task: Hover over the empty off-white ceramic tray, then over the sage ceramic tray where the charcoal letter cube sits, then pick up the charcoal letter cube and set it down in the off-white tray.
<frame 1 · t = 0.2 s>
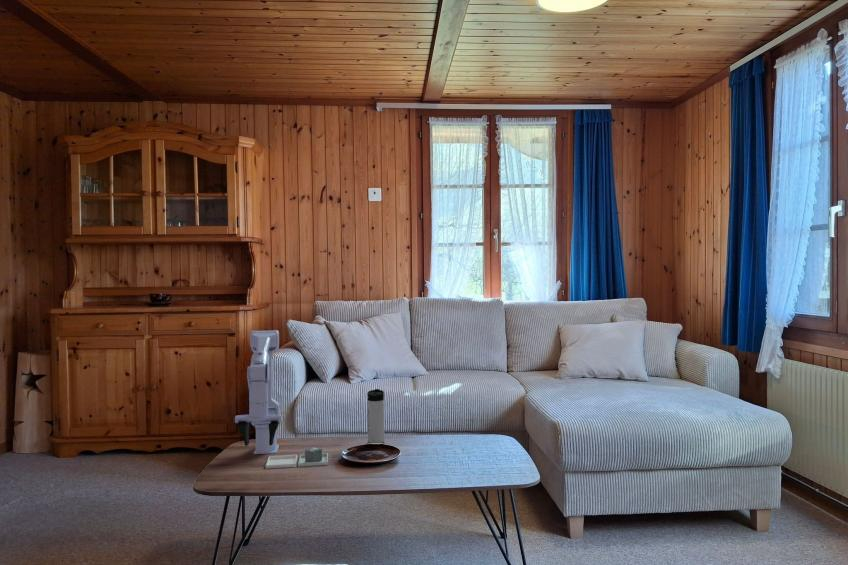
hand: (259, 444, 177), 10 cm above the table, tool pointing down, fingers open, 7 cm apart
tray 1: (282, 463, 189), on the table
travel mug: (376, 443, 211), on the table
letter cube: (313, 460, 191), resting on tray 2
tray 2: (313, 461, 191), on the table
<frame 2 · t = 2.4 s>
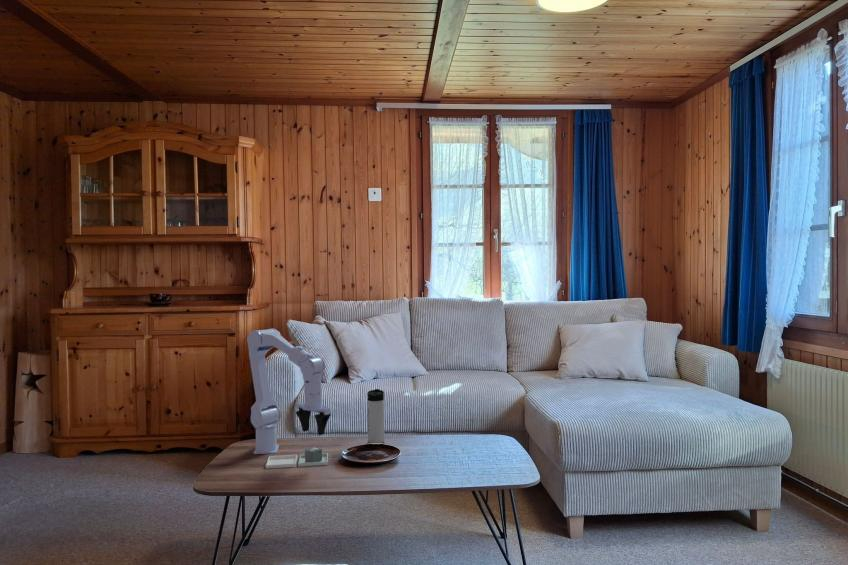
hand: (313, 432, 191), 10 cm above the table, tool pointing down, fingers open, 7 cm apart
nothing on the table moved.
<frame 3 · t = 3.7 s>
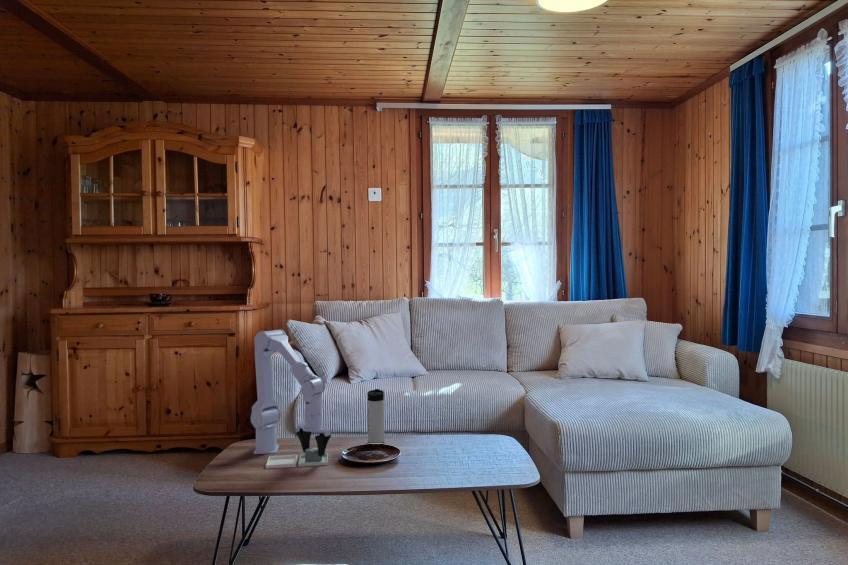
hand: (313, 453, 191), 3 cm above the table, tool pointing down, fingers open, 7 cm apart
nothing on the table moved.
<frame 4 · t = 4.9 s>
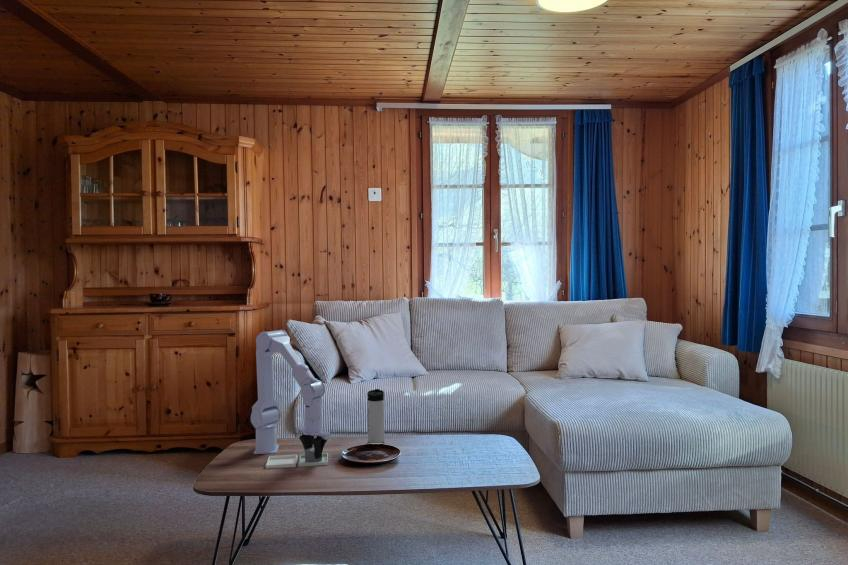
hand: (313, 456, 191), 2 cm above the table, tool pointing down, fingers closed on letter cube, 4 cm apart
letter cube: (313, 460, 191), resting on tray 2, touching gripper
everything else where it was.
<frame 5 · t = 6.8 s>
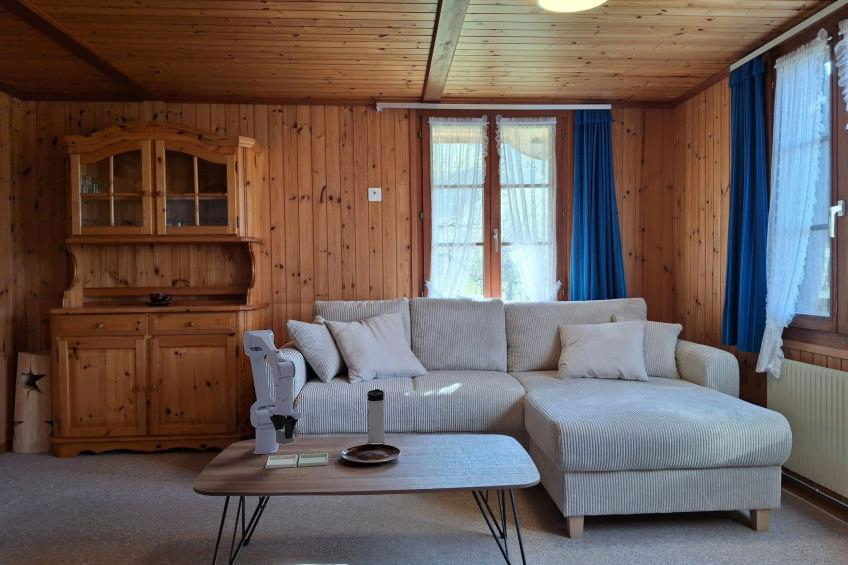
hand: (284, 437, 189), 9 cm above the table, tool pointing down, fingers closed on letter cube, 4 cm apart
letter cube: (284, 441, 189), point 7 cm above the table, touching gripper
everything else where it was.
when the fingers open (3 cm above the table, at t = 8.9 s): letter cube stays where it is, resting on tray 1.
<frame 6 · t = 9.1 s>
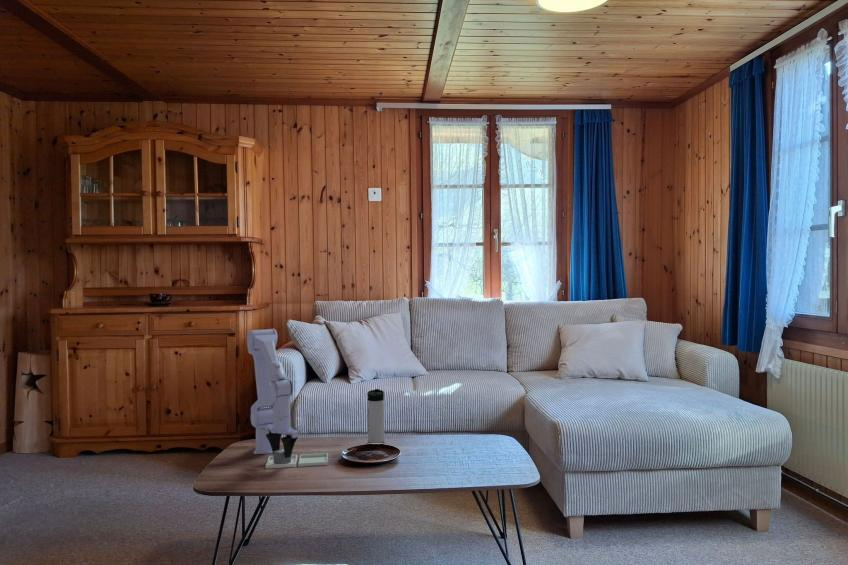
hand: (282, 455, 189), 3 cm above the table, tool pointing down, fingers open, 6 cm apart
letter cube: (282, 462, 189), resting on tray 1
everything else where it was.
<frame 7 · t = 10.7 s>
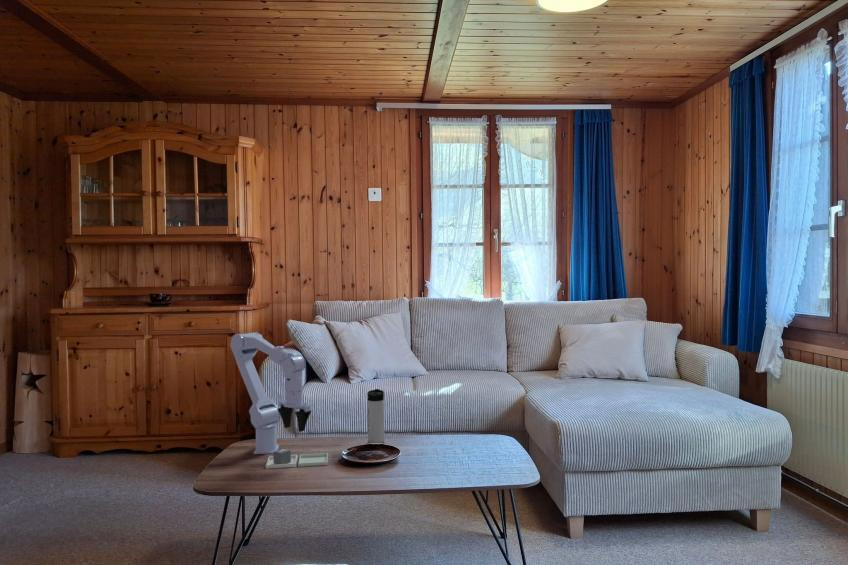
hand: (294, 429, 195), 10 cm above the table, tool pointing down, fingers open, 7 cm apart
nothing on the table moved.
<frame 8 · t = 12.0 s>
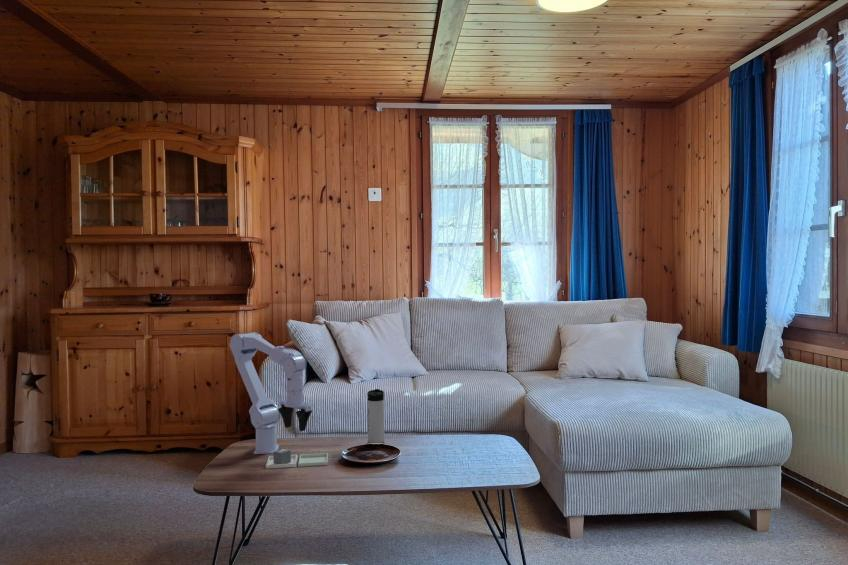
hand: (295, 428, 196), 10 cm above the table, tool pointing down, fingers open, 7 cm apart
nothing on the table moved.
at the end: letter cube 0.0 cm off-centre on the tray 1, point 0.2 cm above the tray 1's base; letter cube tilted 0°; the gripper is holding nothing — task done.
